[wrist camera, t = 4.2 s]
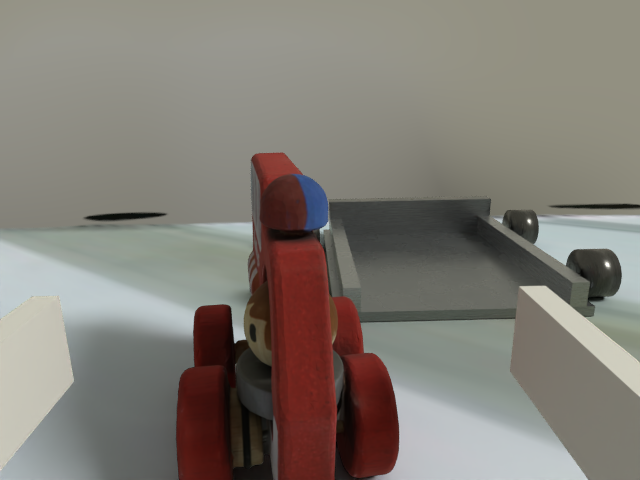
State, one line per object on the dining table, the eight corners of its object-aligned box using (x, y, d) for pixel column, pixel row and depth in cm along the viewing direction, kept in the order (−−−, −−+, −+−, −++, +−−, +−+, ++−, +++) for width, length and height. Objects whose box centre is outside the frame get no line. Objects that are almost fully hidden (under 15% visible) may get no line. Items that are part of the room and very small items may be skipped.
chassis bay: (294, 323, 28) (292, 263, 27) (298, 236, 45) (297, 198, 44) (632, 314, 29) (643, 255, 28) (509, 232, 46) (513, 193, 45)
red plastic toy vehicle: (173, 589, 13) (125, 208, 10) (204, 356, 25) (186, 148, 22) (423, 551, 14) (444, 193, 11) (340, 344, 26) (339, 143, 23)
